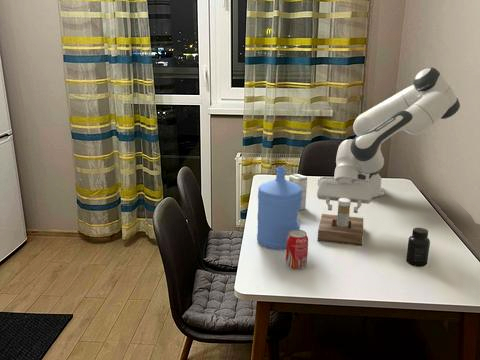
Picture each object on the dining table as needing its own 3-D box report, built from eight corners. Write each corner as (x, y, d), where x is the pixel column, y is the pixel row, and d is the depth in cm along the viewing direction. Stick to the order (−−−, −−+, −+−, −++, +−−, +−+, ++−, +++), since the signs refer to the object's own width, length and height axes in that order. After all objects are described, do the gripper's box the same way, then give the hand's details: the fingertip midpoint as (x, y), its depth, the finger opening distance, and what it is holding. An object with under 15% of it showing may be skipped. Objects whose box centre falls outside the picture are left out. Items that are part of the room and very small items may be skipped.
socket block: (321, 224, 193) (322, 213, 192) (362, 228, 189) (363, 217, 188) (317, 241, 178) (318, 229, 177) (361, 246, 175) (363, 234, 173)
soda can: (288, 259, 165) (290, 227, 161) (309, 263, 162) (311, 230, 158) (282, 268, 158) (284, 235, 155) (303, 273, 156) (305, 239, 152)
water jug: (274, 255, 168) (276, 178, 159) (248, 238, 180) (249, 166, 171) (308, 244, 176) (312, 170, 167) (281, 229, 188) (284, 160, 179)
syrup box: (287, 207, 210) (288, 175, 206) (297, 204, 214) (298, 173, 209) (296, 211, 206) (297, 179, 201) (306, 208, 209) (307, 176, 205)
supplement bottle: (430, 262, 163) (435, 230, 159) (421, 269, 159) (426, 236, 155) (411, 256, 168) (415, 224, 164) (401, 262, 163) (406, 230, 160)
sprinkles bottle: (339, 229, 186) (342, 196, 182) (350, 232, 184) (353, 199, 179) (333, 232, 183) (336, 199, 179) (344, 236, 180) (347, 202, 176)
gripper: (318, 172, 186) (314, 205, 180) (373, 176, 182) (370, 210, 176) (318, 179, 192) (314, 211, 186) (372, 184, 187) (369, 217, 181)
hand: (342, 211), depth 181 cm, fingers open, 8 cm apart
